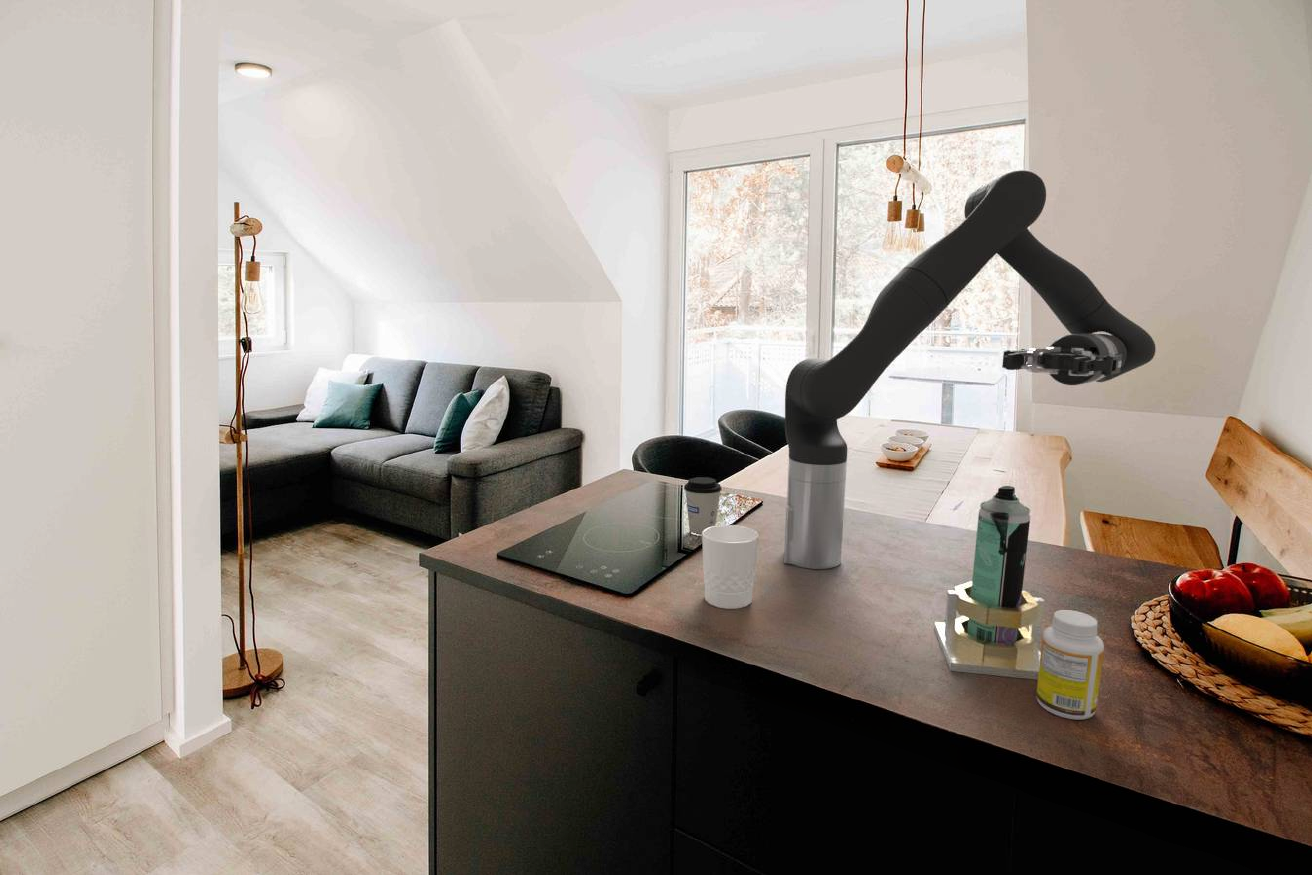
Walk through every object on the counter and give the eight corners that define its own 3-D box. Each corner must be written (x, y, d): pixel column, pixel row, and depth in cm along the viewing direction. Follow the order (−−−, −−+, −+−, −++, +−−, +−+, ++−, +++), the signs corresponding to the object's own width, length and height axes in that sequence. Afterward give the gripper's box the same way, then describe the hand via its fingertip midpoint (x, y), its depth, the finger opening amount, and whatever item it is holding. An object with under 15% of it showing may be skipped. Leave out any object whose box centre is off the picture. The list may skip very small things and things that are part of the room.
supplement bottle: (1068, 690, 78) (1079, 604, 77) (1108, 719, 73) (1121, 627, 71) (1023, 695, 78) (1033, 608, 76) (1060, 725, 72) (1072, 631, 70)
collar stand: (950, 670, 83) (955, 610, 81) (934, 628, 93) (938, 575, 92) (1053, 681, 80) (1060, 619, 79) (1024, 637, 91) (1030, 582, 90)
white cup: (760, 592, 104) (763, 528, 103) (749, 614, 97) (751, 545, 95) (708, 585, 107) (710, 522, 105) (694, 606, 100) (695, 538, 98)
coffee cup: (715, 525, 136) (716, 475, 134) (725, 537, 129) (726, 484, 127) (679, 527, 134) (680, 476, 132) (687, 539, 128) (688, 485, 126)
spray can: (1021, 658, 84) (1039, 494, 80) (972, 653, 85) (988, 491, 81) (1008, 637, 89) (1025, 482, 85) (962, 632, 90) (976, 480, 86)
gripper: (1035, 331, 112) (990, 334, 101) (1140, 335, 101) (1103, 338, 91) (1030, 379, 113) (986, 386, 102) (1133, 387, 103) (1096, 397, 92)
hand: (1041, 364), depth 97 cm, fingers open, 8 cm apart
